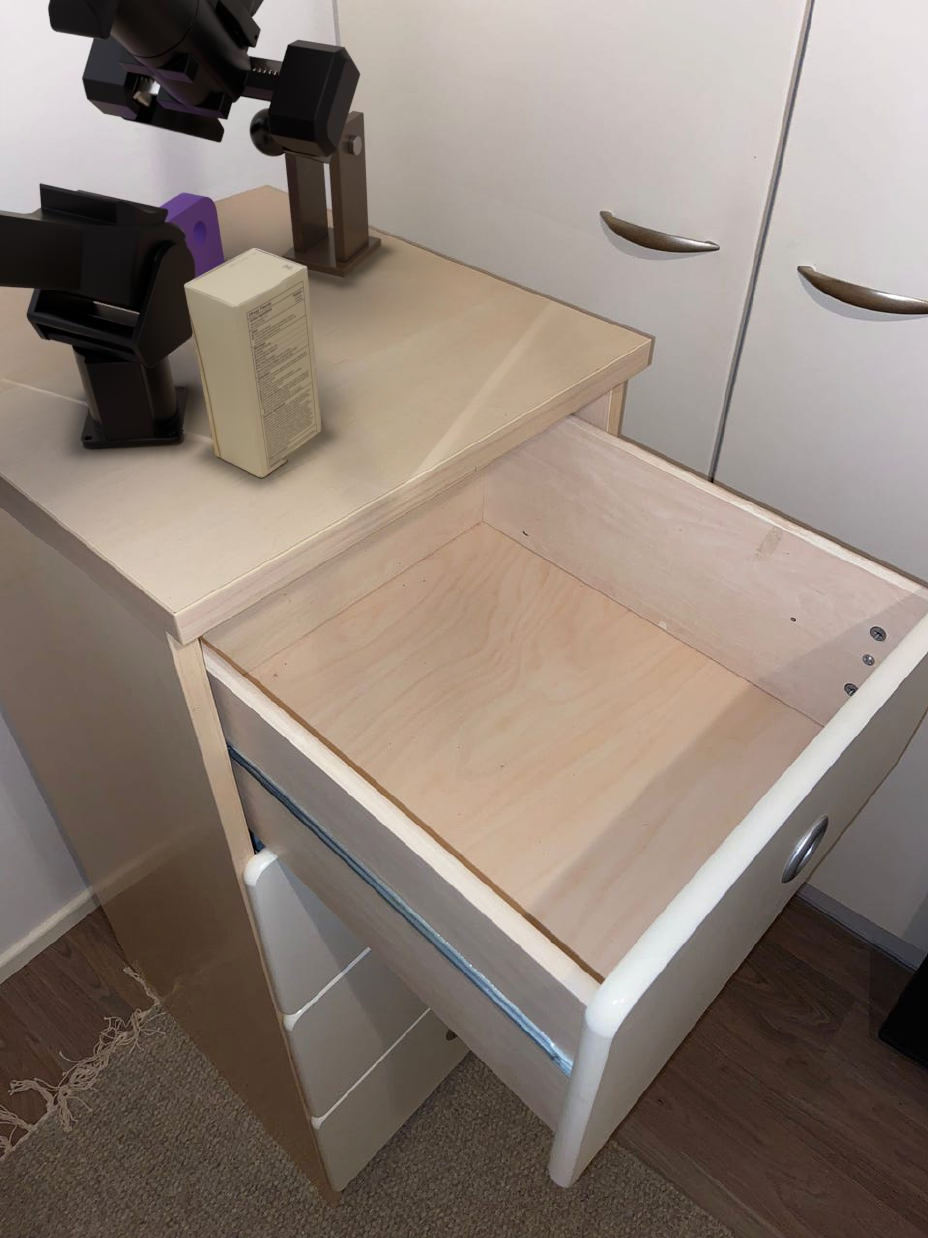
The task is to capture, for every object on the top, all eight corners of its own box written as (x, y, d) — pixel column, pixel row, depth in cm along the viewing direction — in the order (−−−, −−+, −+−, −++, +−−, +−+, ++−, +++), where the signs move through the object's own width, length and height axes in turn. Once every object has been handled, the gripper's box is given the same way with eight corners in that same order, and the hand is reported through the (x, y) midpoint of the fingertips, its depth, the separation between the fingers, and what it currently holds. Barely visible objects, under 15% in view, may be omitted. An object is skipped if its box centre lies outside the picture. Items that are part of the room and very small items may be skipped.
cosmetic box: (276, 415, 68) (255, 244, 59) (325, 437, 66) (311, 264, 58) (211, 458, 64) (178, 281, 56) (262, 482, 62) (236, 304, 54)
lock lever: (277, 158, 70) (281, 109, 69) (239, 151, 71) (242, 102, 70) (348, 165, 80) (352, 121, 78) (313, 158, 81) (317, 115, 79)
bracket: (226, 272, 83) (213, 190, 78) (181, 307, 79) (165, 222, 74) (106, 246, 86) (87, 166, 81) (57, 279, 81) (34, 195, 77)
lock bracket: (344, 283, 82) (335, 135, 74) (282, 269, 84) (266, 122, 76) (381, 251, 87) (376, 108, 79) (322, 238, 89) (311, 96, 80)
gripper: (335, -110, 55) (420, 58, 70) (64, -141, 59) (198, 22, 74) (277, 85, 55) (374, 210, 70) (13, 38, 60) (156, 164, 75)
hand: (274, 146), depth 72 cm, fingers open, 9 cm apart
